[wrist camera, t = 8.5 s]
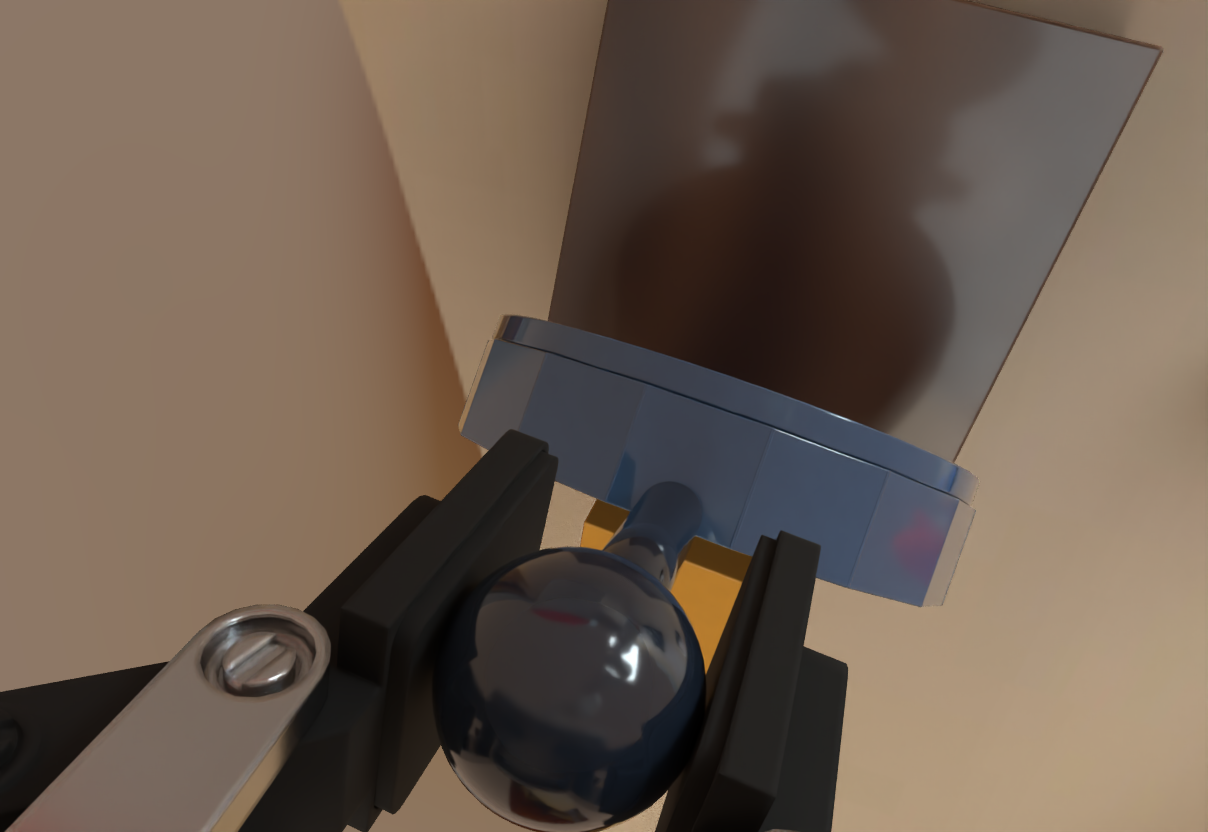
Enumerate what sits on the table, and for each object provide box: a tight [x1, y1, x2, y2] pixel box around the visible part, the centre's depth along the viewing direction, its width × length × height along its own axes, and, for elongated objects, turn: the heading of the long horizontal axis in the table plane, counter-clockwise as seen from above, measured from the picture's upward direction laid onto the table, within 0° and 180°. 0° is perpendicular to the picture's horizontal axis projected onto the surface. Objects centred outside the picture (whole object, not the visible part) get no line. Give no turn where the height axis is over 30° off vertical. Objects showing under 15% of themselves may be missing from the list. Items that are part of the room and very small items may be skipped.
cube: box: [580, 499, 752, 673], centre depth 23 cm, size 5×5×5 cm
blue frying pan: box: [432, 314, 980, 832], centre depth 16 cm, size 12×19×6 cm
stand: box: [548, 0, 1163, 463], centre depth 24 cm, size 13×12×4 cm
